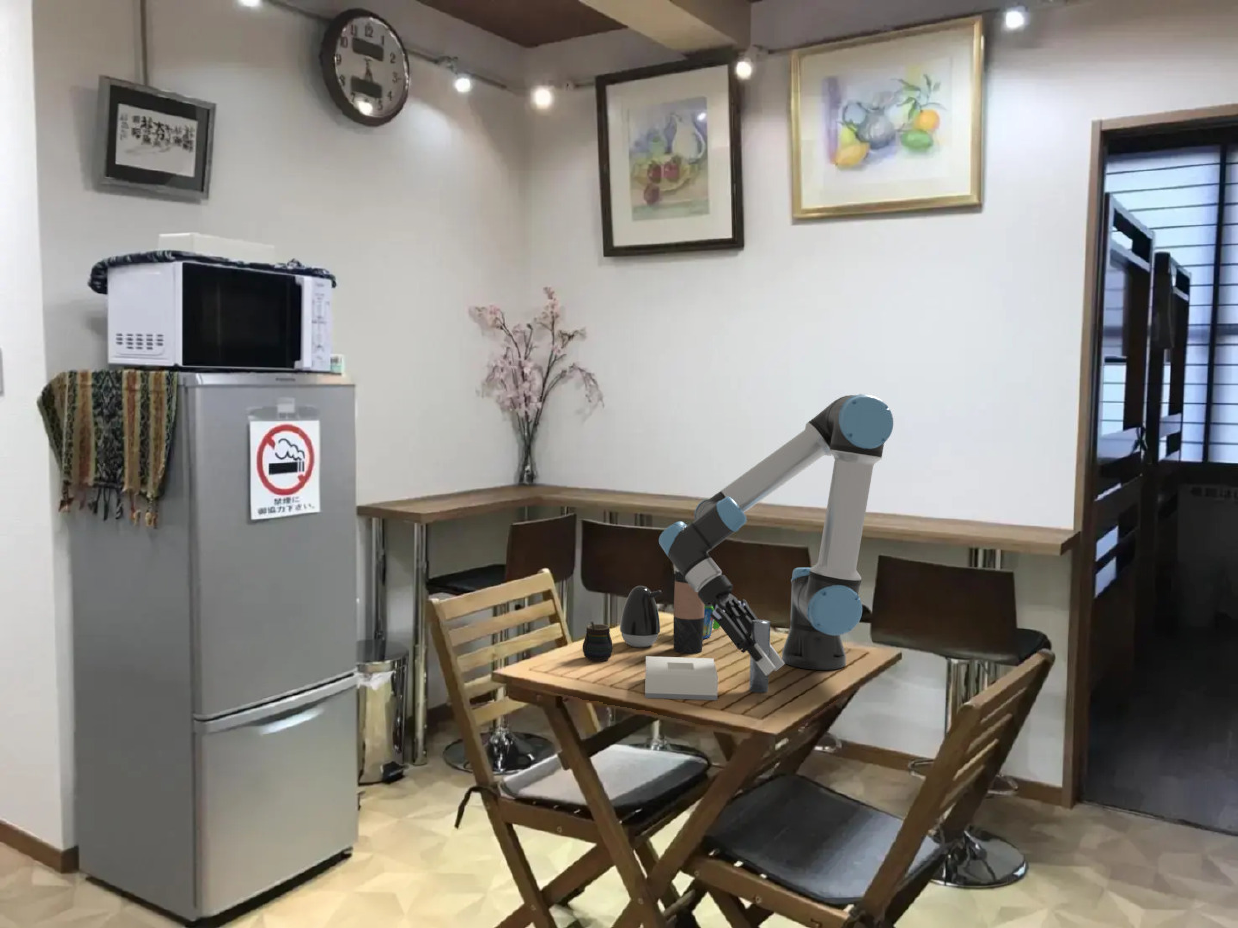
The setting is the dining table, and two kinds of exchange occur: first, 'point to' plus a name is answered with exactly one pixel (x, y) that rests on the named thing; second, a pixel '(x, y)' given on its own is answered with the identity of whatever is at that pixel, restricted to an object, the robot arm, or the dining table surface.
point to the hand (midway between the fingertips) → (775, 669)
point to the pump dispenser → (640, 618)
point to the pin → (762, 638)
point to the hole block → (681, 678)
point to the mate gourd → (597, 642)
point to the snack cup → (709, 622)
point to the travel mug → (687, 617)
